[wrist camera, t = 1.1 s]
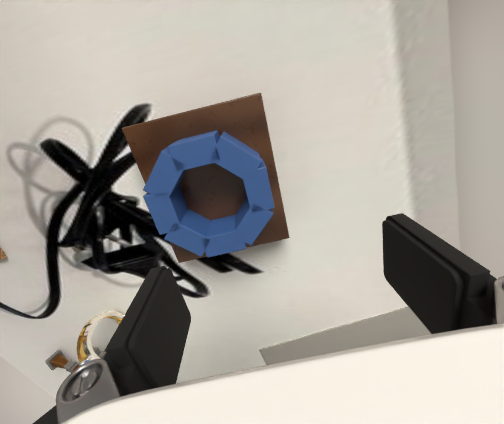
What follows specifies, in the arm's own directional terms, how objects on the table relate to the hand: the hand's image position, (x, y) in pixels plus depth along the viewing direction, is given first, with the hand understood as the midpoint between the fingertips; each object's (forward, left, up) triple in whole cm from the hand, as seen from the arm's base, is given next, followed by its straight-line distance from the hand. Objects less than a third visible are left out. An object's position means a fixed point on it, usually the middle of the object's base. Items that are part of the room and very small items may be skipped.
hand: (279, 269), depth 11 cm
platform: (0, -4, -17) cm, 17 cm away
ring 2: (0, -4, -14) cm, 14 cm away
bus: (+32, +8, -17) cm, 37 cm away
